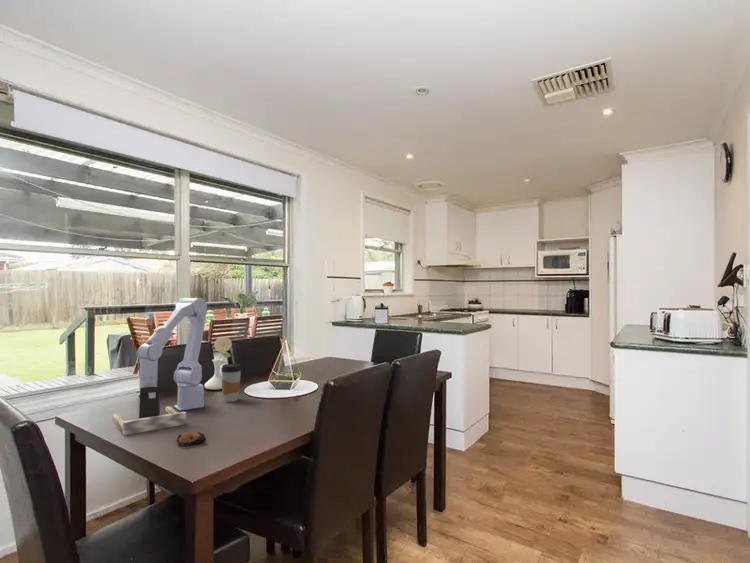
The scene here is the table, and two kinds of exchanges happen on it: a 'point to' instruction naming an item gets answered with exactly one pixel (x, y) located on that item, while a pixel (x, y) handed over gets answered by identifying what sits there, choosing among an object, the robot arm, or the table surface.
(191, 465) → the table surface
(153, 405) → the phone stand
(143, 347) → the robot arm
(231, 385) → the coffee cup
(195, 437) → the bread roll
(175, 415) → the bar
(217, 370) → the flower in vase
